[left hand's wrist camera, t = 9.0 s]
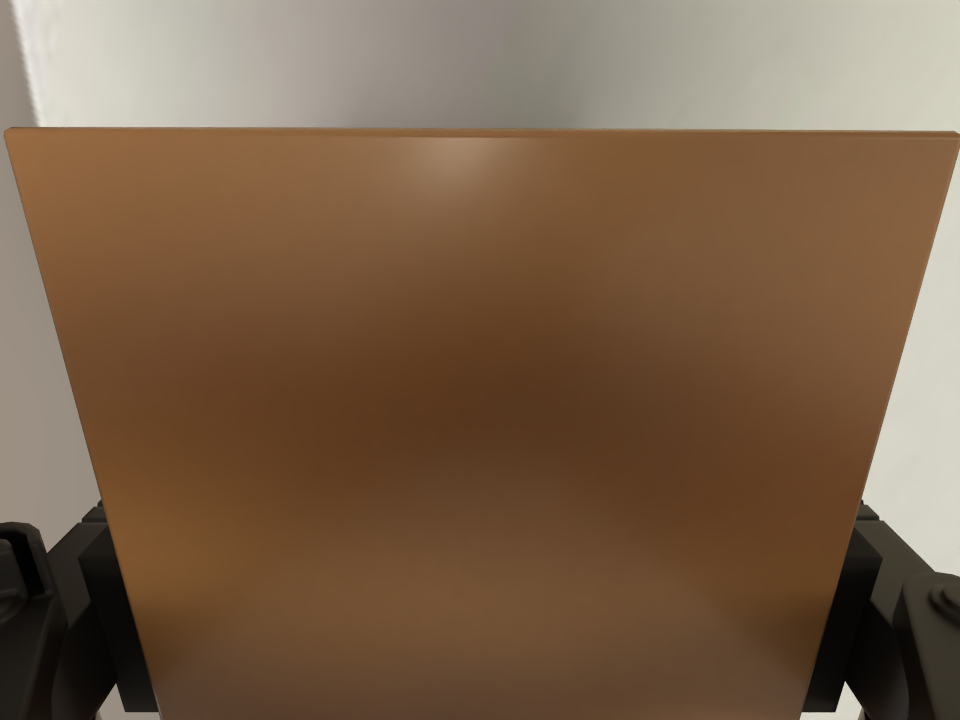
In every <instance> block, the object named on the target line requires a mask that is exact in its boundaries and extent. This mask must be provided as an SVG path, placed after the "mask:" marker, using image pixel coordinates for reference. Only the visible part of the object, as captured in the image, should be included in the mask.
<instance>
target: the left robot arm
mask: <svg viewBox="0 0 960 720" xmlns="http://www.w3.org/2000/svg"><path fill="white" fill-rule="evenodd" d="M845 681H846V683H847V684H848V686H849V688H850V689H851V691H852V692H853V694H854V695H855V697H856V698H857V700H858V701H859V703H860V704H861V706H862V709H861V712H860V715H859V718H858V720H960V577H959V576H956V575H953V574H946V573H939V572H935V571H934V570H933V569H932V568H931V567H930V566H929V565H928V564H927V563H926V562H925V561H924V560H923V559H922V558H921V557H920V556H919V555H918V554H917V553H916V552H915V551H914V550H913V549H912V548H911V547H910V546H909V545H907V544H906V543H905V542H904V541H903V540H902V539H901V538H900V537H899V536H898V535H897V534H896V533H895V532H894V531H893V530H892V529H891V528H890V527H889V526H888V525H887V524H886V523H885V522H884V521H880V520H879V516H878V515H877V514H876V513H875V512H874V511H873V510H872V509H871V508H870V507H869V506H868V505H864V503H863V500H862V499H861V502H860V506H859V509H858V513H857V516H856V520H855V523H854V527H853V531H852V534H851V538H850V541H849V545H848V548H847V552H846V555H845V559H844V563H843V566H842V570H841V573H840V577H839V580H838V584H837V588H836V591H835V595H834V598H833V602H832V605H831V609H830V613H829V616H828V620H827V623H826V627H825V630H824V634H823V638H822V641H821V645H820V648H819V652H818V655H817V659H816V662H815V666H814V670H813V673H812V677H811V680H810V684H809V687H808V691H807V695H806V698H805V702H804V705H803V709H802V712H835V711H836V708H837V705H838V702H839V699H840V695H841V692H842V689H843V686H844V682H845ZM115 684H117V687H118V690H119V694H120V697H121V700H122V703H123V707H124V710H125V712H159V711H158V707H157V704H156V700H155V696H154V693H153V689H152V685H151V681H150V678H149V674H148V670H147V667H146V663H145V659H144V655H143V652H142V648H141V644H140V641H139V637H138V633H137V629H136V626H135V622H134V618H133V615H132V611H131V607H130V603H129V600H128V596H127V592H126V589H125V585H124V581H123V577H122V574H121V570H120V566H119V563H118V559H117V555H116V551H115V548H114V544H113V540H112V537H111V533H110V529H109V525H108V522H107V518H106V514H105V511H104V507H103V503H102V499H101V500H100V501H99V502H98V506H97V507H93V508H92V509H91V510H90V511H89V512H88V513H87V514H86V515H85V516H84V517H83V518H82V522H81V523H77V524H76V525H75V526H74V527H73V528H72V529H71V530H70V531H69V532H68V533H67V534H66V535H65V536H64V537H63V538H62V539H61V540H60V541H59V542H58V543H57V544H56V545H55V546H54V547H53V548H52V549H51V550H50V551H49V552H48V553H47V552H46V549H45V546H44V543H43V540H42V537H41V534H40V531H39V530H38V529H37V528H35V527H34V526H32V525H31V524H29V523H19V522H6V523H0V720H102V718H101V715H100V712H99V708H100V707H101V705H102V704H103V702H104V701H105V699H106V698H107V696H108V694H109V693H110V691H111V690H112V688H113V687H114V685H115Z"/></svg>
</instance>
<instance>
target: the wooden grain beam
mask: <svg viewBox="0 0 960 720" xmlns="http://www.w3.org/2000/svg"><path fill="white" fill-rule="evenodd" d="M4 139H5V143H6V146H7V150H8V154H9V158H10V161H11V165H12V169H13V172H14V176H15V180H16V183H17V187H18V191H19V195H20V198H21V202H22V206H23V210H24V213H25V217H26V221H27V224H28V228H29V232H30V236H31V239H32V243H33V247H34V250H35V254H36V258H37V261H38V265H39V269H40V273H41V276H42V280H43V284H44V287H45V291H46V295H47V299H48V302H49V306H50V310H51V314H52V317H53V321H54V325H55V328H56V332H57V336H58V340H59V343H60V347H61V351H62V354H63V358H64V362H65V366H66V369H67V373H68V377H69V380H70V384H71V388H72V392H73V395H74V399H75V403H76V406H77V410H78V414H79V418H80V421H81V425H82V429H83V432H84V436H85V440H86V444H87V447H88V451H89V455H90V458H91V462H92V466H93V470H94V473H95V477H96V480H97V484H98V488H99V492H100V496H101V499H102V503H103V507H104V511H105V514H106V518H107V522H108V525H109V529H110V533H111V537H112V540H113V544H114V548H115V551H116V555H117V559H118V563H119V566H120V570H121V574H122V577H123V581H124V585H125V589H126V592H127V596H128V600H129V603H130V607H131V611H132V615H133V618H134V622H135V626H136V629H137V633H138V637H139V641H140V644H141V648H142V652H143V655H144V659H145V663H146V667H147V670H148V674H149V678H150V681H151V685H152V689H153V693H154V696H155V700H156V704H157V707H158V711H159V715H160V719H161V720H800V716H801V712H802V709H803V705H804V702H805V698H806V695H807V691H808V687H809V684H810V680H811V677H812V673H813V670H814V666H815V662H816V659H817V655H818V652H819V648H820V645H821V641H822V638H823V634H824V630H825V627H826V623H827V620H828V616H829V613H830V609H831V605H832V602H833V598H834V595H835V591H836V588H837V584H838V580H839V577H840V573H841V570H842V566H843V563H844V559H845V555H846V552H847V548H848V545H849V541H850V538H851V534H852V531H853V527H854V523H855V520H856V516H857V513H858V509H859V506H860V502H861V498H862V495H863V491H864V488H865V484H866V481H867V477H868V473H869V470H870V466H871V463H872V459H873V456H874V452H875V448H876V445H877V441H878V438H879V434H880V431H881V427H882V424H883V420H884V416H885V413H886V409H887V406H888V402H889V399H890V395H891V391H892V388H893V384H894V381H895V377H896V374H897V370H898V366H899V363H900V359H901V356H902V352H903V349H904V345H905V341H906V338H907V334H908V331H909V327H910V324H911V320H912V317H913V313H914V309H915V306H916V302H917V299H918V295H919V292H920V288H921V284H922V281H923V277H924V274H925V270H926V267H927V263H928V259H929V256H930V252H931V249H932V245H933V242H934V238H935V234H936V231H937V227H938V224H939V220H940V217H941V213H942V210H943V206H944V202H945V199H946V195H947V192H948V188H949V185H950V181H951V177H952V174H953V170H954V167H955V163H956V160H957V156H958V152H959V149H960V134H959V133H957V132H955V131H879V130H746V129H555V128H318V127H11V128H9V129H7V130H5V131H4Z"/></svg>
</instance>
